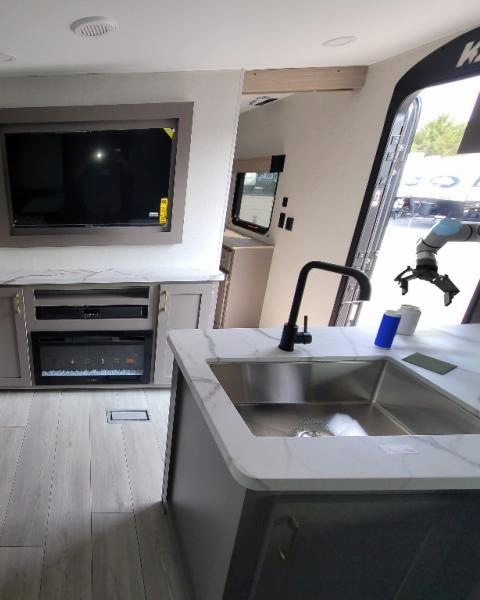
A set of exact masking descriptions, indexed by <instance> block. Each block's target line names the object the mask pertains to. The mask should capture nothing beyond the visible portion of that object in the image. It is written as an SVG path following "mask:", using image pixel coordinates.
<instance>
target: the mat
mask: <svg viewBox="0 0 480 600" xmlns="http://www.w3.org/2000/svg"><path fill="white" fill-rule="evenodd" d="M401 361H404V362H407V363H409V364H411V365H414V366H418V367H420V368H423V369H425V370H428V371H431V372H434V373H436V374H438V375H443V374H446V373H448V372H450V371H451V370H453V369H455V368H457V367H458V365H455V364H452V363H449V362H447V361H444V360H441V359H438V358H435V357H432V356H429V355H426V354H423V353H420V352H417V351H416V352H414V353H412V354H410V355H408V356H405V357H403V358H402V359H401Z"/></svg>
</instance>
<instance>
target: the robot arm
mask: <svg viewBox="0 0 480 600" xmlns="http://www.w3.org/2000/svg"><path fill="white" fill-rule="evenodd" d="M447 243H480V222H478V223H462V222H461V221H460V220H458V219H456V218H451V217H444V218H442V219H440V220H438V221H437V222H436V223H435V224H434V225H432V226H431V228H430V229H429V230H428V232H427V233H426V234H425V235H423V236H422V237H419V238H417V239H415V240H414V241H413V243H412V248H411V252H412V267H411V265H406V266H405V267H404V268H403V270H402V272H400V273H399V274H398V275H396V277H394V279H393V281H394V282H397V285H398V288H400V289H401V296H404V297H405V295H406V294H407V293H408V292H409V282H410V281H412V280H416V279H418V280H421V281H425V282H429V283H430V284H431V285H434V286H435V287H437V288H438V289H439V290H440V291H441V292H443V293H444V294H443V303H444V307H446V308H448V307H449V306H450V305H451V304H452V303H453V300H454V298H455V297H456V296H457V295H458V294H459V293H460V292H461V290H460V289H459V288H458V287H457V286H456V284H455V283H454V282H453V280H452V279H451V278H450V277H449V274H447V273H444V274H440V273H439V265H438V264H439V261H438V252H439V251H440V250H441V249H442V248H443V247H444V246H445V245H447ZM410 272H411V273H412V274H409V275H407V276H405V275H406V274H408V273H410Z"/></svg>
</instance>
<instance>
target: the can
mask: <svg viewBox="0 0 480 600" xmlns="http://www.w3.org/2000/svg"><path fill="white" fill-rule="evenodd" d="M395 311H398V312H400V313H401V314H402V317H401V320H400V323H399V326H398V329H397V332H396V334H399V335H403V336H411V335H413V334H415V332H416V329H417V326H418V323H419V321H420V318H421V316H422V311H421V307H419V306H417V305H413V304H408V303H403V304H400V305H399V306H397V308H396V310H395Z"/></svg>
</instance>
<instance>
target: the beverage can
mask: <svg viewBox="0 0 480 600" xmlns="http://www.w3.org/2000/svg"><path fill="white" fill-rule="evenodd" d="M381 317H382V318H381V320H380V323H379V326H378V330H377V332H376V335H375V338H374V342H373V344H374V346H375V347H376V348H378V349H382V350H389V349H391V348H392V346H393V343H394V340H395V336H396V334H397V333H396V332H397V329H398V326H399V323H400V320H401V317H402V314H401V313H400V312H398V311H396V310H393V309H386V310H385V311H384V312H383V314H382V316H381Z"/></svg>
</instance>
